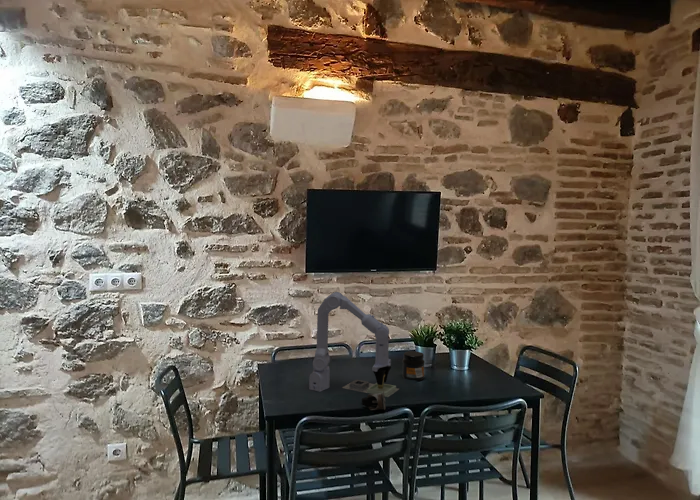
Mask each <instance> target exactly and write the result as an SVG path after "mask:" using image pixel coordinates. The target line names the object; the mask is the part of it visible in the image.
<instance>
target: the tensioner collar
mask: <svg viewBox="0 0 700 500" xmlns="http://www.w3.org/2000/svg"><path fill="white" fill-rule="evenodd" d="M354 380H355V381H354ZM354 380H353V381H351V382H350V384H349V383H348V384H349V387H354V388H359V389H363V388H365V387H367V386H368V385H369V383H370V381H367V380H362V379H354Z"/></svg>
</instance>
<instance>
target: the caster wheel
mask: <svg viewBox="0 0 700 500" xmlns="http://www.w3.org/2000/svg"><path fill="white" fill-rule="evenodd" d="M386 401H387V400H386V397H385V396H384V391H383V393H377V394H370V393H367V396H366V397H362V398H361V404H362V406H363V407H364V406H367V407H368V409H369V410H370V411H377V410H384V411H385V410H386V408H387V407H386Z"/></svg>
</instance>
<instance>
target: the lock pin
mask: <svg viewBox="0 0 700 500" xmlns="http://www.w3.org/2000/svg"><path fill="white" fill-rule="evenodd" d="M384 377H385V373H384ZM384 377H383V384H382V385H378V388H379V389H383V386H384V384H385V382H384Z"/></svg>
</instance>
